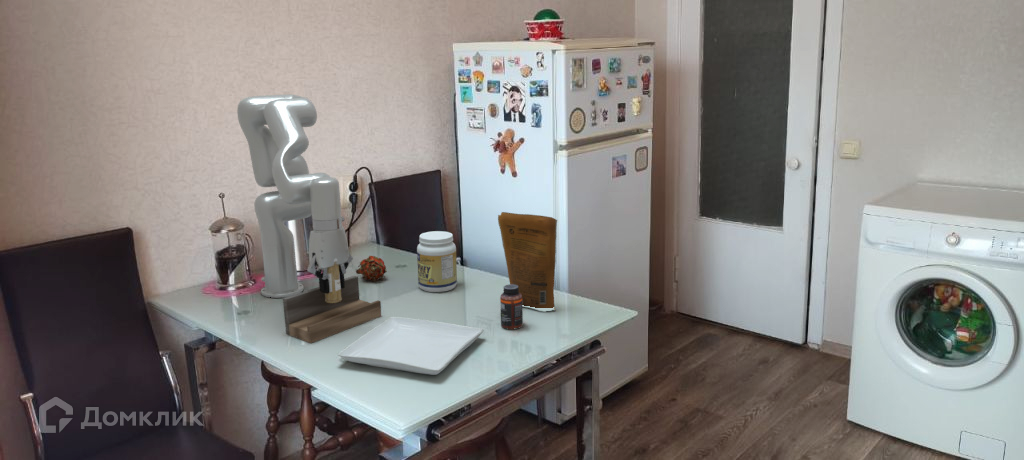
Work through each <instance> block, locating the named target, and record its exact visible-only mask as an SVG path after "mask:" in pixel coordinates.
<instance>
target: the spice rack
mask: <svg viewBox="0 0 1024 460" xmlns="http://www.w3.org/2000/svg"><path fill="white" fill-rule="evenodd" d="M344 281H345V283H344V284H345V288H343V289H342V288H341V297H342V300H341V301H340V302H337V303H327V302H325V293H323V292H321V291H320V287H319V286H317V287H314V288H311V289H308V290H305V291H304V290H303V291H302V292H300V293H298V294H295V295H292V296H288V297H282V303H283V312H284V313H283V314H284V324H285V334H286V335H288V336H290V337H293V338H295V339H298V340H301V341H304V342H307V343H309V344H312V343H315V342H317V341H321V340H323V339H325V338H326V339H327V338H329V337H331V336H334V335H336V334H339V333H341V332H344V331H346V330H347V331H348V330H349V329H352V328H355V327H357V326H360V325H362V324H364V323H367V322H369V321H372V320H375V319H378V318H380V317H382V305H381V300H375V301H372V302H369V301H365V300H361V299H360V288H359V287H360V285H359V276H358V275H352V276H349V277H344Z"/></svg>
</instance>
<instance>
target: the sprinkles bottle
mask: <svg viewBox="0 0 1024 460" xmlns="http://www.w3.org/2000/svg"><path fill="white" fill-rule="evenodd" d="M335 261H337V259H336V258H335V259H334V261H333V262H335ZM336 263H337V262H335V264H334V265H333V266H331V267H329V268H328V269H327V278H326V279H328V280H329V291H330V292H329V293H328V294H326V293H325V302H327V303H337V302H340V301H341V300H342V297H341V284H340V272H339V265H338V264H336Z"/></svg>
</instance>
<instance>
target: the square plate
mask: <svg viewBox="0 0 1024 460" xmlns="http://www.w3.org/2000/svg"><path fill="white" fill-rule="evenodd" d="M484 331H485V330H484V328H479V327H474V326H466V325H461V324H454V323H448V322H442V321H435V320H427V319H418V318H410V317H400V316H390V317H389V318H387V319H386V320H384V321H383V322H381V323H380V324H378V325H376V326H375V327H373V328H372V329H371V330H369V331H367V332H366V333H364V334H363V335H362V336H360V337H359V338H358V339H356V340H355V341H353V342H352V343H350V344H349V345H348V346H346V347H345V348H344V349H342V350H341V351H340V352H338V353H337V356H338V357H340V358H342V359H343V360H345V361H347V362H351V363H356V364H362V365H367V366H371V367H377V368H383V369H389V370H390V369H391V370H396V371H403V372H409V373H414V374H423V375H431V376H435V375H436V376H437V375H439V374H440V373H441V372H442V371H443V370H444V369H446V368H447V367H448V366H449V364H450V363H452V362H453V361H454V360H455V359H456V358H457V357H458V356H459V355H460V354H461V353H462V352H464V351H465V350H466V349H467V348H468V347H470V346H472V344H473V343H474V342H475V341H476V340H477V339H478V338H479V337H481V336H480V335H482V334H483V332H484Z"/></svg>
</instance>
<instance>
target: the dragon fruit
mask: <svg viewBox="0 0 1024 460" xmlns="http://www.w3.org/2000/svg"><path fill="white" fill-rule="evenodd" d="M387 272H388V271H387V267H386V265H385V262H384V260H383V259H382V258H380V257H378V256H375V255H369V256H368V257H367V258H364V259H362V260H361V261H360V262H359V265H358V266H357V269H355V273H356V274H357V275H362V278H363V280H365V281H369V280H370V281H372V282H377V281H378V280H379V279H382V278H383V277H384V276H385V274H386V273H387Z"/></svg>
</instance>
